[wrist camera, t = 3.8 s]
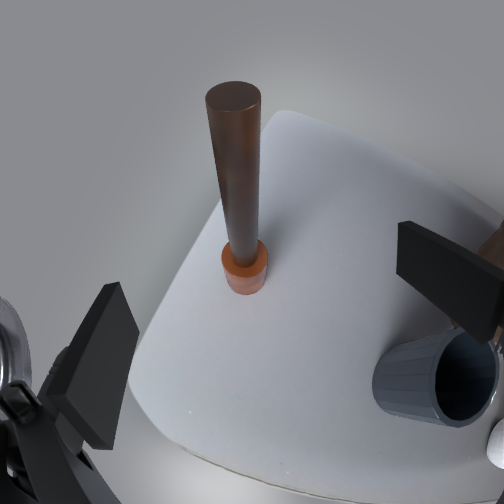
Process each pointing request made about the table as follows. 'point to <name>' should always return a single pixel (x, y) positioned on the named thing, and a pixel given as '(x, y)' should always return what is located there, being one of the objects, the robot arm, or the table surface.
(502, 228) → the plant pot
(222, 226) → the table surface
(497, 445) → the cat figurine
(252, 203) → the brown rod
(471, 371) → the blue-grey cylindrical holder
